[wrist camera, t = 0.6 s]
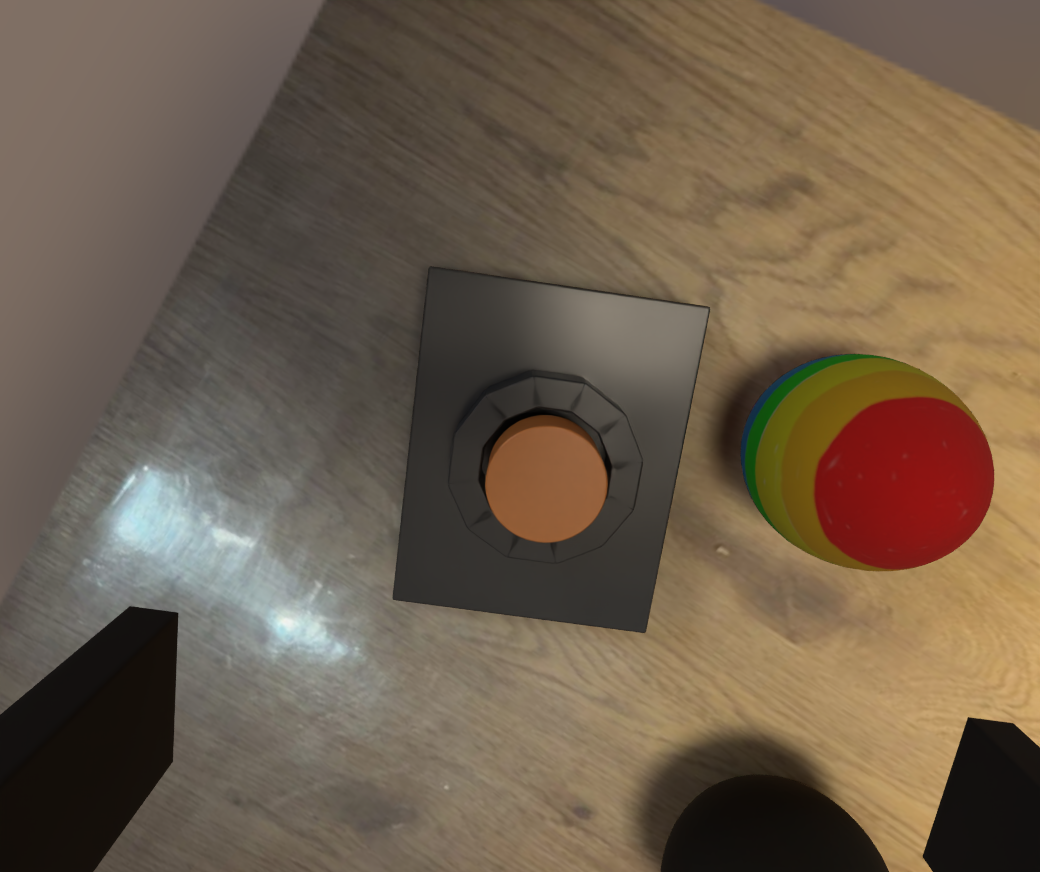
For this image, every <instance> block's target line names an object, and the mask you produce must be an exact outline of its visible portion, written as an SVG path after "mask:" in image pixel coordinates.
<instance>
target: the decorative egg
mask: <svg viewBox="0 0 1040 872" xmlns="http://www.w3.org/2000/svg"><path fill="white" fill-rule="evenodd" d="M741 465H742V472H743V476H744V480H745V483H746V486H747V489H748V491H749V494H750V496H751V498H752V500H753V502H754V503H755V505H756V507H757V508H758V510H759V511H760V513H761V514H762V515H763V517H764V518H765V519H766V521H767V522H768V523H769V524H770V525H771V526H772V527H773V528H774V529H775V530H776V531H777V532H778V533H779V534H781V535H782V536H783V537H784V538H785V539H786V540H788V541H789V542H790V543H792V544H793V545H795V546H797V547H798V548H800V549H802V550H803V551H805V552H807V553H809V554H811V555H813V556H815V557H817V558H820V559H822V560H824V561H827V562H830V563H832V564H836V565H840V566H843V567H847V568H853V569H859V570H867V571H896V570H904V569H910V568H915V567H918V566H922V565H925V564H928V563H931V562H933V561H936V560H938V559H940V558H942V557H944V556H946V555H948V554H949V553H951V552H953V551H954V550H956V549H957V548H958V547H960V546H961V545H962V544H963V543H964V542H966V541H967V540H968V539H969V538H970V537H971V536H972V534H973V533H974V532H975V531H976V530H977V528H978V527H979V526H980V524H981V522H982V521H983V519H984V517H985V515H986V513H987V511H988V508H989V506H990V502H991V498H992V494H993V487H994V467H993V460H992V454H991V451H990V448H989V445H988V442H987V439H986V437H985V434H984V432H983V430H982V429H981V427H980V425H979V423H978V421H977V420H976V418H975V417H974V415H973V414H972V412H971V411H970V410H969V409H968V407H967V406H966V405H965V404H964V403H963V402H962V401H961V400H960V398H959V397H958V396H957V395H955V394H954V393H953V392H952V391H951V390H950V389H949V388H948V387H946V386H945V385H943V384H942V383H941V382H939V381H938V380H937V379H935V378H934V377H932V376H930V375H928V374H927V373H925V372H923V371H921V370H920V369H917V368H915V367H913V366H910V365H908V364H906V363H903V362H900V361H897V360H893V359H890V358H886V357H881V356H874V355H863V354H844V355H834V356H829V357H824V358H820V359H816V360H813V361H810V362H807V363H805V364H803V365H800V366H798V367H796V368H794V369H793V370H791V371H789V372H788V373H786V374H784V375H783V376H781V377H780V378H779V379H778V380H776V381H775V382H774V383H773V384H772V385H771V386H770V387H769V388H767V390H766V391H765V392H764V393H763V394H762V395H761V396H760V398H759V399H758V401H757V402H756V403H755V405H754V407H753V409H752V410H751V412H750V415H749V417H748V419H747V421H746V424H745V427H744V431H743V436H742V441H741Z"/></svg>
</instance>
